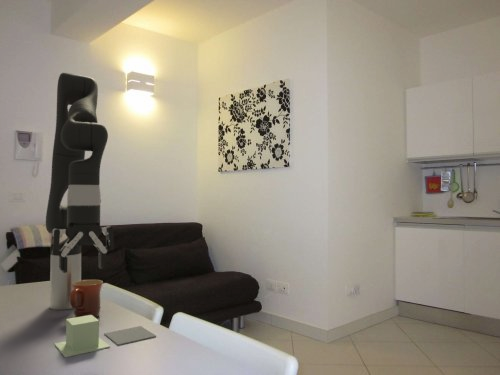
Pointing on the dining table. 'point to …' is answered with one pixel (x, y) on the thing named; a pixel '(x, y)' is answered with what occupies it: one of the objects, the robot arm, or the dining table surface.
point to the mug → (86, 297)
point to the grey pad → (129, 335)
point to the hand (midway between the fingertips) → (83, 270)
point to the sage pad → (67, 351)
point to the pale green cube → (82, 332)
